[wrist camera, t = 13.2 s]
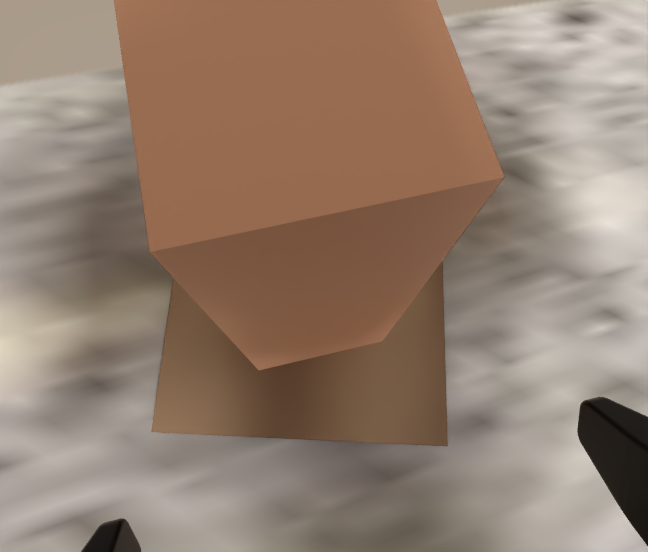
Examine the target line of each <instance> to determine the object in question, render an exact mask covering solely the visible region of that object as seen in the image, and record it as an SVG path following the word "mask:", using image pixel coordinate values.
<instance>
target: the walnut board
mask: <svg viewBox="0 0 648 552" xmlns="http://www.w3.org/2000/svg"><path fill="white" fill-rule="evenodd" d="M151 432H161V433H182V434H203V435H224V436H245V437H266V438H287V439H308V440H329V441H350V442H370V443H391V444H412V445H433V446H448V442H447V406H446V370H445V334H444V298H443V262H441V263H440V265H439V266H438V267H437V269H436V270H435V271H434V273H433V274H432V275H431V277H430V278H429V279H428V281H427V282H426V283H425V285H424V286H423V287H422V289H421V290H420V291H419V293H418V294H417V295H416V297H415V298H414V299H413V301H412V302H411V303H410V305H409V306H408V308H407V309H406V310H405V312H404V313H403V314H402V316H401V317H400V318H399V320H398V321H397V322H396V324H395V325H394V326H393V328H392V329H391V330H390V332H389V333H388V334H387V336H386V337H385V338H384V340H383V341H382V342H377V343H373V344H369V345H365V346H360V347H356V348H352V349H348V350H343V351H339V352H335V353H331V354H326V355H322V356H318V357H314V358H310V359H305V360H301V361H297V362H293V363H288V364H284V365H280V366H276V367H271V368H267V369H263V370H258V369H257V368H256V367H255V366H254V365H253V364H252V363H251V362H250V360H249V359H248V358H247V357H246V356H245V355H244V354H243V353H242V352H241V351H240V350H239V349H238V347H237V346H236V345H235V344H234V343H233V342H232V341H231V340H230V339H229V338H228V337H227V335H226V334H225V333H224V332H223V331H222V330H221V329H220V328H219V327H218V326H217V325H216V324H215V322H214V321H213V320H212V319H211V318H210V317H209V316H208V315H207V314H206V313H205V312H204V311H203V309H202V308H201V307H200V306H199V305H198V304H197V303H196V302H195V301H194V300H193V299H192V297H191V296H190V295H189V294H188V293H187V292H186V291H185V290H184V289H183V288H182V287H181V286H180V284H179V283H178V282H177V281H176V280H175V279H174V278H173V285H172V292H171V299H170V306H169V313H168V320H167V327H166V334H165V341H164V347H163V354H162V361H161V368H160V375H159V382H158V389H157V396H156V403H155V410H154V417H153V424H152V431H151Z"/></svg>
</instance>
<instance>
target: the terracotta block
mask: <svg viewBox="0 0 648 552" xmlns="http://www.w3.org/2000/svg"><path fill="white" fill-rule="evenodd" d="M114 4H115V11H116V18H117V25H118V32H119V40H120V46H121V54H122V61H123V68H124V75H125V82H126V89H127V96H128V103H129V110H130V117H131V124H132V131H133V138H134V145H135V152H136V159H137V166H138V173H139V180H140V187H141V194H142V201H143V208H144V215H145V222H146V229H147V236H148V243H149V250H150V253H151V254H152V255H153V256H154V257H155V258H156V259H157V261H158V262H159V263H160V264H161V265H162V266H163V267H164V268H165V269H166V270H167V271H168V273H169V274H170V275H171V276H172V277H173V278H174V279H175V280H176V281H177V282H178V283H179V284H180V286H181V287H182V288H183V289H184V290H185V291H186V292H187V293H188V294H189V295H190V296H191V297H192V299H193V300H194V301H195V302H196V303H197V304H198V305H199V306H200V307H201V308H202V309H203V311H204V312H205V313H206V314H207V315H208V316H209V317H210V318H211V319H212V320H213V321H214V322H215V324H216V325H217V326H218V327H219V328H220V329H221V330H222V331H223V332H224V333H225V334H226V335H227V337H228V338H229V339H230V340H231V341H232V342H233V343H234V344H235V345H236V346H237V347H238V349H239V350H240V351H241V352H242V353H243V354H244V355H245V356H246V357H247V358H248V359H249V360H250V362H251V363H252V364H253V365H254V366H255V367H256V368H257V369H258V370H263V369H267V368H271V367H276V366H280V365H284V364H288V363H293V362H297V361H301V360H305V359H310V358H314V357H318V356H322V355H326V354H331V353H335V352H339V351H343V350H348V349H352V348H356V347H360V346H365V345H369V344H373V343H377V342H382V341H383V340H384V338H385V337H386V336H387V334H388V333H389V332H390V330H391V329H392V328H393V326H394V325H395V324H396V322H397V321H398V320H399V318H400V317H401V316H402V314H403V313H404V312H405V310H406V309H407V308H408V306H409V305H410V303H411V302H412V301H413V299H414V298H415V297H416V295H417V294H418V293H419V291H420V290H421V289H422V287H423V286H424V285H425V283H426V282H427V281H428V279H429V278H430V277H431V275H432V274H433V273H434V271H435V270H436V269H437V267H438V266H439V265H440V263H441V262H442V261H443V259H444V258H445V256H446V255H447V254H448V252H449V251H450V250H451V248H452V247H453V246H454V244H455V243H456V242H457V240H458V239H459V238H460V236H461V235H462V234H463V232H464V231H465V230H466V228H467V227H468V226H469V224H470V223H471V222H472V220H473V219H474V218H475V216H476V215H477V214H478V212H479V211H480V209H481V208H482V207H483V205H484V204H485V203H486V201H487V200H488V199H489V197H490V196H491V195H492V193H493V192H494V191H495V189H496V188H497V187H498V185H499V184H500V183H501V181H502V180H503V179H504V175H503V172H502V169H501V167H500V164H499V162H498V159H497V156H496V154H495V151H494V149H493V146H492V144H491V141H490V138H489V136H488V133H487V131H486V128H485V125H484V123H483V120H482V118H481V115H480V112H479V110H478V107H477V105H476V102H475V99H474V97H473V94H472V92H471V89H470V87H469V84H468V81H467V79H466V76H465V74H464V71H463V68H462V66H461V63H460V61H459V58H458V55H457V53H456V50H455V48H454V45H453V42H452V40H451V37H450V35H449V32H448V30H447V27H446V24H445V22H444V19H443V17H442V14H441V11H440V9H439V6H438V4H437V1H436V0H114Z"/></svg>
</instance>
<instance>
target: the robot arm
mask: <svg viewBox="0 0 648 552" xmlns="http://www.w3.org/2000/svg"><path fill="white" fill-rule="evenodd" d="M578 437H579V440H580V442H581V444H582V446H583V447H584V449H585V451H586V452H587V454H588V455H589V457H590V459H591V460H592V462H593V464H594V465H595V467H596V469H597V470H598V472H599V474H600V475H601V477H602V479H603V480H604V482H605V484H606V485H607V487H608V489H609V490H610V492H611V494H612V495H613V497H614V499H615V500H616V502H617V503H618V505H619V507H620V508H621V510H622V511H623V513H624V514H625V516H626V517H627V519H628V520H629V521H630V523H631V524H632V526H633V527H634V528H635V530H636V531H637V532H638V534H639V535H640V536H641V538H642V539H643V540H644V542H645V543H646V544H647V546H648V417H647V416H645V415H643V414H640V413H638V412H636V411H634V410H632V409H630V408H627V407H625V406H623V405H621V404H619V403H616V402H614V401H612V400H610V399H608V398H605V397H596V398H593V399H589V400H585V401H583V402H582V403H581V405H580V412H579V421H578ZM81 552H141V548H140V545H139V543H138V541H137V539H136V537H135V535H134V533H133V531H132V529H131V527H130V525H129V523H128V522H127V520H125V519H117V520H113V521H109V522H105V523H103V524H101V525H100V526H99V527H98V529H97V530H96V531H95V533H94V534H93V536H92V537H91V539H90V540H89V541H88V543H87V544H86V546H85V547H84V548H83V550H82V551H81Z"/></svg>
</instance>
